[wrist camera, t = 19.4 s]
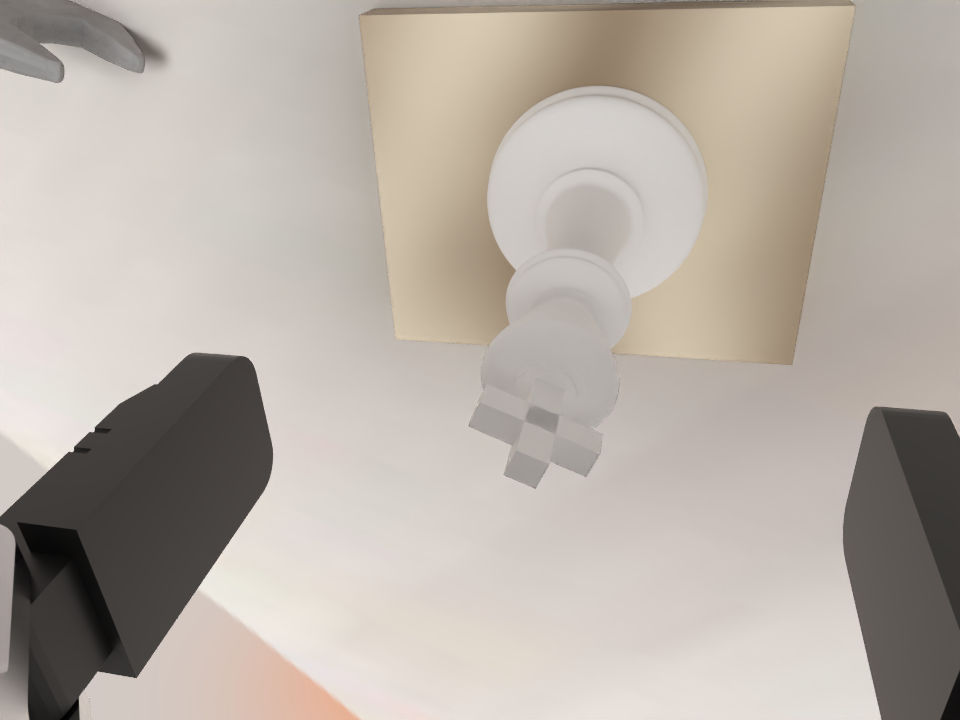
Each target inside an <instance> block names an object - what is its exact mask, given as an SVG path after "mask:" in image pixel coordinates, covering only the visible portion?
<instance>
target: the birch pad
mask: <svg viewBox="0 0 960 720" xmlns="http://www.w3.org/2000/svg"><path fill="white" fill-rule="evenodd" d="M855 8H856V5H854V4H853V3H852V2H850V1H849V0H768V1H721V2H674V3H627V4H580V5H533V6H486V7H438V8H391V9H372V10H370V11H368V12H366V13H363V14H361V15H359V20H360V29H361V38H362V47H363V56H364V65H365V73H366V82H367V91H368V100H369V109H370V118H371V127H372V136H373V144H374V153H375V162H376V171H377V180H378V189H379V198H380V206H381V215H382V224H383V233H384V242H385V251H386V260H387V268H388V277H389V286H390V295H391V304H392V313H393V322H394V331H395V339H396V340H411V341H427V342H442V343H458V344H473V345H490V344H491V342H492V341H493V340H494V338H495V337H496V336H497V335H498V334H499V333H500V332H501V331H502V330H503V329H505V328H506V327H507V326H509V325H510V324H509V320H508V316H507V312H506V292H507V288H508V285H509V282H510V280H511V278H512V276H513V275H514V273H515V272H516V270H515V269H514V268H513V266H512V265H511V264H510V263H509V262H508V260H507V259H506V258H505V256H504V255H503V253H502V251H501V250H500V248H499V246H498V244H497V242H496V240H495V237H494V235H493V232H492V229H491V226H490V221H489V216H488V209H487V190H488V183H489V176H490V171H491V166H492V163H493V160H494V157H495V154H496V152H497V149H498V147H499V145H500V143H501V141H502V140H503V138H504V136H505V135H506V133H507V132H508V131H509V129H510V128H511V127H512V125H513V124H514V123H515V122H516V121H517V120H518V119H519V118H520V117H521V116H522V115H523V114H524V113H525V112H526V111H528V110H529V109H530V108H532V107H533V106H534V105H536V104H537V103H539V102H541V101H542V100H544V99H546V98H548V97H550V96H552V95H554V94H557V93H560V92H563V91H566V90H569V89H573V88H578V87H585V86H612V87H619V88H624V89H628V90H631V91H634V92H637V93H640V94H642V95H645V96H647V97H649V98H651V99H653V100H655V101H656V102H658V103H660V104H661V105H663V106H664V107H665V108H667V109H668V110H669V111H670V112H672V113H673V114H674V115H675V116H676V117H677V118H678V119H679V120H680V121H681V122H682V123H683V124H684V126H685V127H686V128H687V129H688V131H689V132H690V134H691V135H692V137H693V138H694V140H695V142H696V144H697V146H698V148H699V150H700V152H701V155H702V158H703V161H704V164H705V168H706V173H707V180H708V201H707V209H706V213H705V217H704V221H703V224H702V227H701V229H700V232H699V235H698V238H697V240H696V242H695V244H694V246H693V248H692V250H691V252H690V253H689V255H688V256H687V258H686V259H685V261H684V262H683V263H682V264H681V265H680V267H679V268H678V269H677V270H676V271H675V272H674V273H673V274H672V275H671V276H670V277H668V278H667V279H666V280H665V281H663V282H662V283H661V284H659V285H658V286H656V287H655V288H653V289H651V290H649V291H648V292H645V293H643V294H641V295H639V296H636V297H633V298H631V303H632V311H631V318H630V322H629V325H628V327H627V330H626V332H625V333H624V335H623V336H622V338H621V339H620V340H619V341H618V343H617V344H616V345H615V346H614V347H613V348H612V349H611V351H612V353H613V354H628V355H644V356H659V357H675V358H690V359H706V360H721V361H737V362H752V363H768V364H783V365H792V363H793V357H794V352H795V346H796V341H797V335H798V329H799V324H800V318H801V312H802V307H803V301H804V295H805V290H806V284H807V279H808V273H809V267H810V262H811V256H812V250H813V245H814V239H815V234H816V228H817V222H818V217H819V211H820V205H821V200H822V194H823V188H824V183H825V177H826V172H827V166H828V160H829V155H830V149H831V143H832V138H833V132H834V126H835V121H836V115H837V110H838V104H839V98H840V93H841V87H842V81H843V76H844V70H845V65H846V59H847V53H848V48H849V42H850V36H851V31H852V25H853V19H854V14H855Z"/></svg>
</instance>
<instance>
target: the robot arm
mask: <svg viewBox="0 0 960 720" xmlns="http://www.w3.org/2000/svg"><path fill="white" fill-rule="evenodd" d="M272 464H273V448H272V442H271V438H270V433H269V429H268V424H267V420H266V415H265V411H264V406H263V402H262V397H261V393H260V389H259V384H258V380H257V375H256V371H255V368H254V366H253V364H252V362H251V361H250V360H249V359H248V358H246V357H244V356H233V355H220V354H207V353H192V354H189V355H188V356H187V357H185V358H184V359H183V360H182V361H181V362H180V363H179V364H178V365H177V366H176V367H175V368H174V369H173V370H172V371H171V372H170V373H169V374H168V375H167V376H166V377H165V378H164V379H163V380H162V381H161V382H160V383H159V384H157V385H156V384H155V385H153V386H151V387H149V388H147V389H145V390H144V391H142V392H140V393H138V394H136V395H135V396H133V397H131V398H129V399H127V400H126V401H124V402H122V403H120V404H119V405H118V406H117V407H116V408H115V409H114V410H113V411H112V412H111V413H109V414H108V415H107V416H106V417H105V418H104V419H103V420H102V421H101V422H100V423H99V424H98V425H97V426H96V427H95V431H94V433H93V432H89V433H88V434H87V435H86V436H85V437H84V438H83V439H82V440H81V441H80V442H79V443H78V444H77V445H76V446H75V447H74V452H68V453H67V454H66V455H65V456H64V457H63V458H62V459H61V460H60V461H59V462H58V463H57V464H55V465H54V466H53V467H52V468H51V469H50V470H49V471H48V472H47V473H46V474H45V475H44V476H43V477H42V478H41V479H40V480H39V481H37V482H36V483H35V484H34V485H33V486H32V487H31V488H30V489H29V490H28V491H27V492H26V493H25V494H24V495H23V496H22V497H21V498H20V499H18V500H17V501H16V502H15V503H14V504H13V505H12V506H11V507H10V508H9V509H8V510H7V511H6V512H5V513H4V514H3V515H2V516H1V517H0V720H91V705H90V700H89V698H88V696H87V694H86V692H85V688H86V686H87V685H88V684H89V682H90V681H91V680H92V678H93V677H94V675H95V674H96V673H97V671H99V672H105V673H111V674H116V675H122V676H128V677H134V678H137V677H138V675H139V674H140V672H141V671H142V669H143V668H144V666H145V665H146V663H147V662H148V660H149V659H150V658H151V656H152V654H153V653H154V652H155V650H156V649H157V647H158V646H159V644H160V643H161V641H162V640H163V638H164V637H165V635H166V634H167V632H168V631H169V630H170V628H171V627H172V625H173V624H174V622H175V621H176V619H177V618H178V616H179V615H180V613H181V612H182V611H183V609H184V607H185V606H186V605H187V603H188V602H189V600H190V599H191V597H192V596H193V594H194V593H195V591H196V590H197V588H198V587H199V586H200V584H201V583H202V581H203V580H204V578H205V577H206V575H207V574H208V572H209V571H210V569H211V568H212V566H213V565H214V563H215V562H216V561H217V559H218V558H219V556H220V555H221V553H222V552H223V550H224V549H225V547H226V546H227V544H228V543H229V541H230V540H231V538H232V537H233V536H234V534H235V533H236V531H237V530H238V528H239V527H240V525H241V524H242V522H243V521H244V519H245V518H246V516H247V515H248V513H249V512H250V511H251V509H252V508H253V506H254V505H255V503H256V502H257V500H258V499H259V497H260V496H261V494H262V493H263V491H264V490H265V488H266V486H267V484H268V481H269V478H270V475H271V470H272ZM843 545H844V555H845V561H846V565H847V569H848V574H849V578H850V583H851V587H852V591H853V596H854V600H855V605H856V609H857V613H858V618H859V622H860V627H861V631H862V635H863V640H864V644H865V649H866V653H867V657H868V662H869V666H870V671H871V675H872V679H873V684H874V688H875V693H876V697H877V701H878V706H879V710H880V715H881V719H882V720H960V438H959V436H958V434H957V431H956V429H955V427H954V425H953V423H952V421H951V419H950V417H949V416H948V415H947V414H946V413H945V412H940V411H927V410H914V409H901V408H888V407H874V408H873V409H872V410H871V411H870V413H869V415H868V418H867V421H866V425H865V429H864V433H863V437H862V441H861V445H860V449H859V454H858V458H857V462H856V466H855V470H854V474H853V478H852V482H851V486H850V491H849V495H848V499H847V503H846V508H845V514H844V524H843Z"/></svg>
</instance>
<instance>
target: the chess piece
mask: <svg viewBox="0 0 960 720" xmlns="http://www.w3.org/2000/svg"><path fill="white" fill-rule="evenodd" d="M707 201H708V180H707V173H706V168H705V164H704V161H703V158H702V155H701V152H700V150H699V148H698V146H697V144H696V142H695V140H694V138H693V137H692V135H691V134H690V132H689V131H688V129H687V128H686V127H685V126H684V124H683V123H682V122H681V121H680V120H679V119H678V118H677V117H676V116H675V115H674V114H673V113H672V112H670V111H669V110H668V109H667V108H665V107H664V106H663V105H661V104H660V103H658V102H656V101H655V100H653V99H651V98H649V97H647V96H645V95H642V94H640V93H637V92H634V91H631V90H628V89H624V88H619V87H612V86H585V87H578V88H573V89H569V90H566V91H563V92H560V93H557V94H554V95H552V96H550V97H548V98H546V99H544V100H542V101H541V102H539V103H537V104H536V105H534V106H533V107H532V108H530V109H529V110H528V111H526V112H525V113H524V114H523V115H522V116H521V117H520V118H519V119H518V120H517V121H516V122H515V123H514V124H513V125H512V127H511V128H510V129H509V131H508V132H507V133H506V135H505V136H504V138H503V140H502V141H501V143H500V145H499V147H498V149H497V152H496V154H495V157H494V160H493V163H492V166H491V171H490V176H489V183H488V190H487V209H488V216H489V221H490V226H491V229H492V232H493V235H494V237H495V240H496V242H497V244H498V246H499V248H500V250H501V251H502V253H503V255H504V256H505V258H506V259H507V260H508V262H509V263H510V264H511V265H512V266H513V268H514V269H515V270H516V272H515V273H514V275H513V276H512V278H511V280H510V282H509V285H508V288H507V292H506V312H507V316H508V320H509V324H510V325H509V326H507V327H506V328H505V329H503V330H502V331H501V332H500V333H499V334H498V335H497V336H496V337H495V338H494V340H493V341H492V342H491V344H490V345H489V347H488V349H487V351H486V353H485V355H484V358H483V362H482V367H481V382H482V387H483V392H482V395H481V397H480V399H479V401H478V403H477V406H476V408H475V410H474V413H473V416H472V418H471V421H470V424H469V427H471V428H474V429H476V430H478V431H481V432H483V433H485V434H488V435H490V436H492V437H495V438H497V439H499V440H502V441H504V442H506V443H509V444H511V445H512V448H511V451H510V455H509V458H508V462H507V465H506V468H505V472H504V475H505V476H507V477H510V478H512V479H514V480H517V481H519V482H521V483H524V484H526V485H528V486H531V487H533V488H535V489H536V487H537V485H538V483H539V482H540V480H541V478H542V476H543V474H544V473H545V471H546V469H547V467H548V465H549V462H553V463H555V464H557V465H560V466H562V467H564V468H567V469H569V470H571V471H574V472H576V473H578V474H581V475H583V476H585V477H586V476H587V475H588V473H589V471H590V470H591V468H592V466H593V465H594V463H595V461H596V460H597V458H598V456H599V455H600V451H601V443H602V436H603V434H602V433H599V432H597V431H595V430H592V429H593V428H594V427H596V426H597V425H599V424H600V423H601V422H602V421H603V420H604V419H605V418H606V417H607V416H608V414H609V413H610V411H611V410H612V408H613V406H614V404H615V402H616V399H617V396H618V391H619V372H618V368H617V364H616V361H615V358H614V356H613V353H612V351H611V349H612V348H613V347H614V346H615V345H616V344H617V343H618V341H619V340H620V339H621V338H622V336H623V335H624V333H625V332H626V330H627V327H628V325H629V322H630V318H631V311H632V303H631V298H633V297H636V296H639V295H641V294H643V293H645V292H648V291H649V290H651V289H653V288H655V287H656V286H658V285H659V284H661V283H662V282H663V281H665V280H666V279H667V278H668V277H670V276H671V275H672V274H673V273H674V272H675V271H676V270H677V269H678V268H679V267H680V265H681V264H682V263H683V262H684V261H685V259H686V258H687V256H688V255H689V253H690V252H691V250H692V248H693V246H694V244H695V242H696V240H697V238H698V235H699V232H700V229H701V227H702V224H703V221H704V217H705V213H706V209H707Z"/></svg>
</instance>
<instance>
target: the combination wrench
mask: <svg viewBox="0 0 960 720" xmlns="http://www.w3.org/2000/svg"><path fill="white" fill-rule="evenodd" d="M39 43H55V44H62V45H69V46H76V47H82V48H84V49H86V50H88V51H90V52H92V53H93V54H95V55H97V56H99V57H101V58H103V59H105V60H107V61H109V62H112V63H114V64H116V65H118V66H121V67H123V68H125V69H127V70H130V71H133V72H137V73H142V72H143V71H144V65H145V59H144V57H143V54H142V52H141V50H140V49H139V47H138V46H137V44H136V42H135V41H134V39H133V38H132V36H131V35H130V34H129V33H128V32H127V31H126V30H125V28H124V27H123V26H122V25H121V24H120V23H119V22H117V21H115V20H113V19H111V18H108V17H106V16H104V15H102V14H99V13H97V12H95V11H92V10H90V9H88V8H85V7H83V6H81V5H78V4H76V3H74V2H72V1H69V0H0V68H1V69H5V70H8V71H11V72H14V73H18V74H22V75H26V76H30V77H34V78H39V79H43V80H47V81H51V82H55V83H59V82H61V81H62V80H63V78H64V65H63V63H62V62H61V61H60V60H59V59H58V58H57V57H56V56H55V55H53V54H52V53H51V52H50V51H48V50H47V49H46V48H44V47H43V46H42V45H40V44H39Z"/></svg>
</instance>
